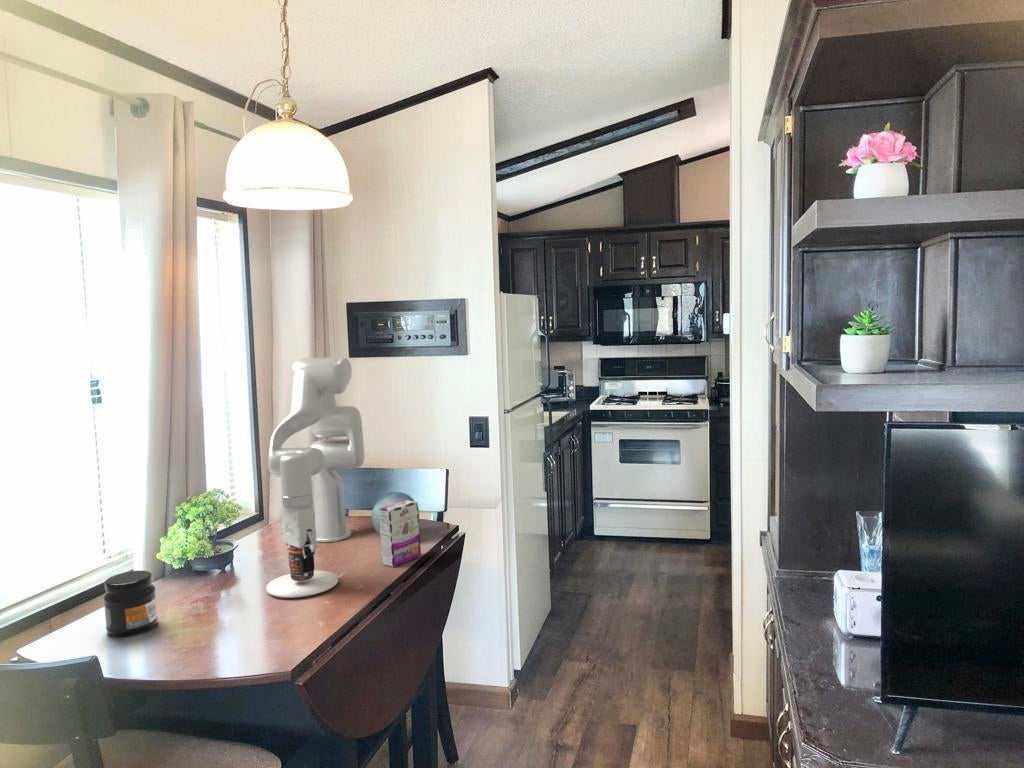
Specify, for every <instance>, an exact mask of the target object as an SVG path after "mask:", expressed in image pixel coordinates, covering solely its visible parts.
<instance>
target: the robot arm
mask: <svg viewBox="0 0 1024 768" xmlns="http://www.w3.org/2000/svg"><path fill="white" fill-rule="evenodd" d="M291 371H292V372H291V373H292V375H293V379H292V380H293V381H292V387H291V388H292V389H291V391H292V392H291V399H290V411H289V414H288V415H287V416H286V417H284V418H283V419H282V420H281V421H280V423H278V425H277V426H276V428H275V429H274V430H273V433H272V434H271V437H270V439H269V446H268V453H267V454H268V457H267V467H268V470H269V473H271V475H272V476H274V477H278V478H280V484H281V486H280V487H281V499H282V501H281V502H282V508H281V509H282V510H281V539H282V542H283V543H285V544H286V545H287V548H286V549H287V552H288V553H289V546H290V545H292V546H294V547H297V548H301V551H302V555H303V558H302V572H303V573H307V572H310V571H313V570H315V552H316V550H317V548H318V543H333V542H339V541H343V540H346V539H348V538H350V537H351V536H352V531H351V530H350V529H348V528H347V525H346V507H345V490H344V489H345V488H344V486H345V485H344V481H343V479H342V477H341V476H340V475H339V473H338V472H337V471H336V470H346V469H348V470H349V469H358V468H360V467H361V466H363V465H364V462H365V446H364V445H365V444H364V432H363V421H362V415H361V412H360V410H359V409H358V408H357V407H355V406H351V405H347V406H346V405H345V406H342V405H340V406H338V405H337V403H336V395H340V394H343V393H344V392H345V391H346V389H347V387H348V386H349V383H350V381H351V378H352V372H353V371H352V365H351V362H350V361H349V359H348V358H347V357H344V356H340V357H339V356H337V357H335V356H334V357H307V358H300V359H297V360H295V361H294V362H292V365H291ZM306 428H310V432H311V433H312V435H313V436H314V437H318V438H334V439H321V440H320V439H319V440H316V441H314V442H312V443H311V444H310V445H309V447H284V448H283V446H284V444H285V442H286V441H287V440H288V439H289V438H291V437H292V436H294V435H295V434H298V433H299V432H300V431H302V430H305V429H306ZM335 437H337V438H338V437H346V438H342V439H341V438H340V439H339V438H338V439H336V438H335ZM313 507H314V508H313ZM306 542H308V543H309V544H307V545H305V543H306ZM306 547H309V548H308V549H307V551H306V550H305V548H306ZM288 565H289V566H288V567H290V559H289V558H288Z"/></svg>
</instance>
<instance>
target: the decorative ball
mask: <svg viewBox="0 0 1024 768" xmlns="http://www.w3.org/2000/svg"><path fill="white" fill-rule="evenodd" d="M405 500H409V501H415V500H414V498H412V497H411V496H410V495H409V494H407V493H404V492H401V491H392V492H388V493H386V494H384V495H382V496H380V497H379V498H378V499H377V501H376V502H375V504H374V505H373V507H372V511H371V523H372V527H373V528H374V530H375V531H376V533H378V534H379V536H381V534H380V521H379V509H380V508H383V507H386V506H389V505H392V504H395V503H399V502H402V501H405ZM420 515H421V514H420V508H419V507H418V518H419V519H420Z"/></svg>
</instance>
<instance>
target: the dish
mask: <svg viewBox="0 0 1024 768" xmlns="http://www.w3.org/2000/svg"><path fill="white" fill-rule="evenodd" d="M338 583H339V577H338V575H337V574H336V573H334V572H331V571H327V570H315V569H314V576H313V577H312V578H311V579H308V580H305V581H294V580H292V579H291V575H290V573H287V574H284V575H281V576H278V577H276V578H273V580H271V581H269V582H268V584H266V587H265V591H266V593H267V594H269V595H270V596H272V597H278V598H287V599H288V598H302V597H309V596H313V595H317V594H321V593H324V592H326V591H329V590H330V589H333V587H334V588H335V586H337V584H338Z"/></svg>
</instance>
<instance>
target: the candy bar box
mask: <svg viewBox="0 0 1024 768" xmlns="http://www.w3.org/2000/svg"><path fill="white" fill-rule="evenodd" d="M418 508H419V506H418V501H416V500H414V501H409V500H405V501H402V502H399V503H395V504H392V505H389V506H386V507H383V508H380V509H379V521H380V534H381V535H380V534H379V535H380V546H381V547H380V548H381V561H382V565H383V564H384V565H383V566H385V565H387V566H386V567H391V568H396V567H398V565H399V566H400V565H404V564H406V563H408V561H409V562H411V561H413V560H415V559H418V558H420V557H422V553H421V552H422V551H421V549H422V548H421V537H420V533H421V532H420V517H419V518H418ZM405 562H406V563H405ZM403 563H404V564H403Z"/></svg>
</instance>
